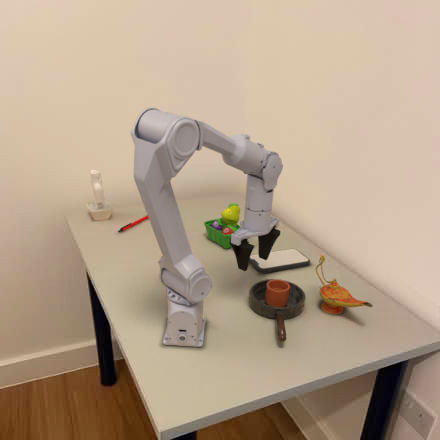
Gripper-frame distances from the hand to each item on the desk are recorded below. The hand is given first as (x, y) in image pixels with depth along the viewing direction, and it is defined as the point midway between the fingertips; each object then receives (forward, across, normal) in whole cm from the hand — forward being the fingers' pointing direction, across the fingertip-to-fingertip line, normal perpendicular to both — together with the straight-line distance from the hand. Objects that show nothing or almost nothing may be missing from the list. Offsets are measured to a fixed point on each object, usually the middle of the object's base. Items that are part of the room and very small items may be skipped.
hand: (253, 263), depth 101 cm
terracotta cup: (+9, -2, +6) cm, 11 cm away
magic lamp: (+10, -10, +18) cm, 22 cm away
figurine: (+10, -3, -65) cm, 66 cm away
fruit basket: (+10, -19, -25) cm, 33 cm away
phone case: (+10, -20, -6) cm, 23 cm away
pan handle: (+8, +7, +13) cm, 17 cm away
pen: (+9, -9, -53) cm, 55 cm away
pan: (+9, -2, +6) cm, 11 cm away
